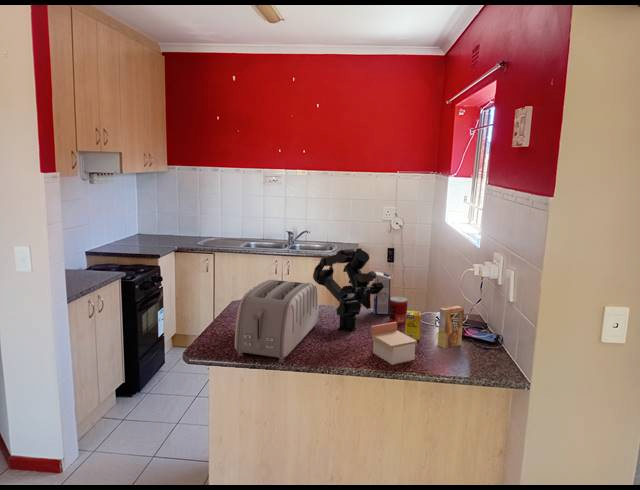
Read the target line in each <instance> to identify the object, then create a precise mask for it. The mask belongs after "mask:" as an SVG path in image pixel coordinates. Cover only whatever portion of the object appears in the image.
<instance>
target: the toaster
mask: <svg viewBox="0 0 640 490" xmlns="http://www.w3.org/2000/svg"><path fill="white" fill-rule="evenodd" d="M318 296H319V295H318V289H317V286H316V285H315V284H314V283H310V282H298V281H297V282H296V281H288V280H279V279H278V280H277V279H268V280H265V281H263V282H261V283H258V285H256V286H253V288H251V289H249V291H248V292H246V293H244V295H243V296H242V298H241V299H240V300H239V305H238V309H237V314H236V316H237V317H236V321H235V331H234V332H235V333H234V349H235V350H236V352H237V356H238V355H243V354H244V353H245V354H251V355H258V356H259V355H260V356H266V357H273V358H278V362H279V363H280V362H283V363H285V362H284V361H286V360H285V359H286V357H287V356H288V355H289V354H290V353H291V352H292V351H293V350H295V348H296V347H297V346H298V345H299V344H300V343H301V342H302V341H303V339H304V338H305V337H306V336H307V335H308V334H309V332H311V331H312V329H314V328H313V327H315V328H317V324H318V323H319V321H320V319H319V316H320V315H319V314H320V312H319V311H320V310H319V297H318Z"/></svg>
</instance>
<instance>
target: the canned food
mask: <svg viewBox="0 0 640 490" xmlns="http://www.w3.org/2000/svg"><path fill="white" fill-rule="evenodd" d="M406 311H408V298H406V297H404V296H390V309H389V316H388V323H392V322H397V326H404V325H406Z"/></svg>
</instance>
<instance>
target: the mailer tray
mask: <svg viewBox="0 0 640 490" xmlns="http://www.w3.org/2000/svg"><path fill="white" fill-rule="evenodd" d="M372 342H373V341H372ZM372 354H374V355H376V356H377V357H379V358H381V359H382V360H383V359H384V360H383V361H385V362H386V361H387V363H388V364H389V365H391V366H393V365H394V366H395V365H399V364H402V363H403V362H404V363H406V362H407V361H408V362H412V360H413V361H415V354H416V347H415V343H410V344H405V345H400V346H395V347H392V352H390V351H388V350H387V349H385V348H383V347H382V346H380V345H378V344H377V343H375V342H373V346H372ZM398 363H399V364H398ZM404 363H403V364H404Z"/></svg>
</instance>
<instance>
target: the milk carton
mask: <svg viewBox="0 0 640 490" xmlns="http://www.w3.org/2000/svg"><path fill="white" fill-rule="evenodd" d="M374 272H375V274H376V278H375V279H374V282H382V283H383V285H384V288H383V289H382V290H381V291H380V292H379V293H378V294H373V310H372V311H373V314H374V316H375V317H376V316H377V317H378V316H379V317H389V309H390V298H391V290H392V289H391V287H392V277H390V275H391V274H390V273H388V272H380V271H375V270H374Z"/></svg>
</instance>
